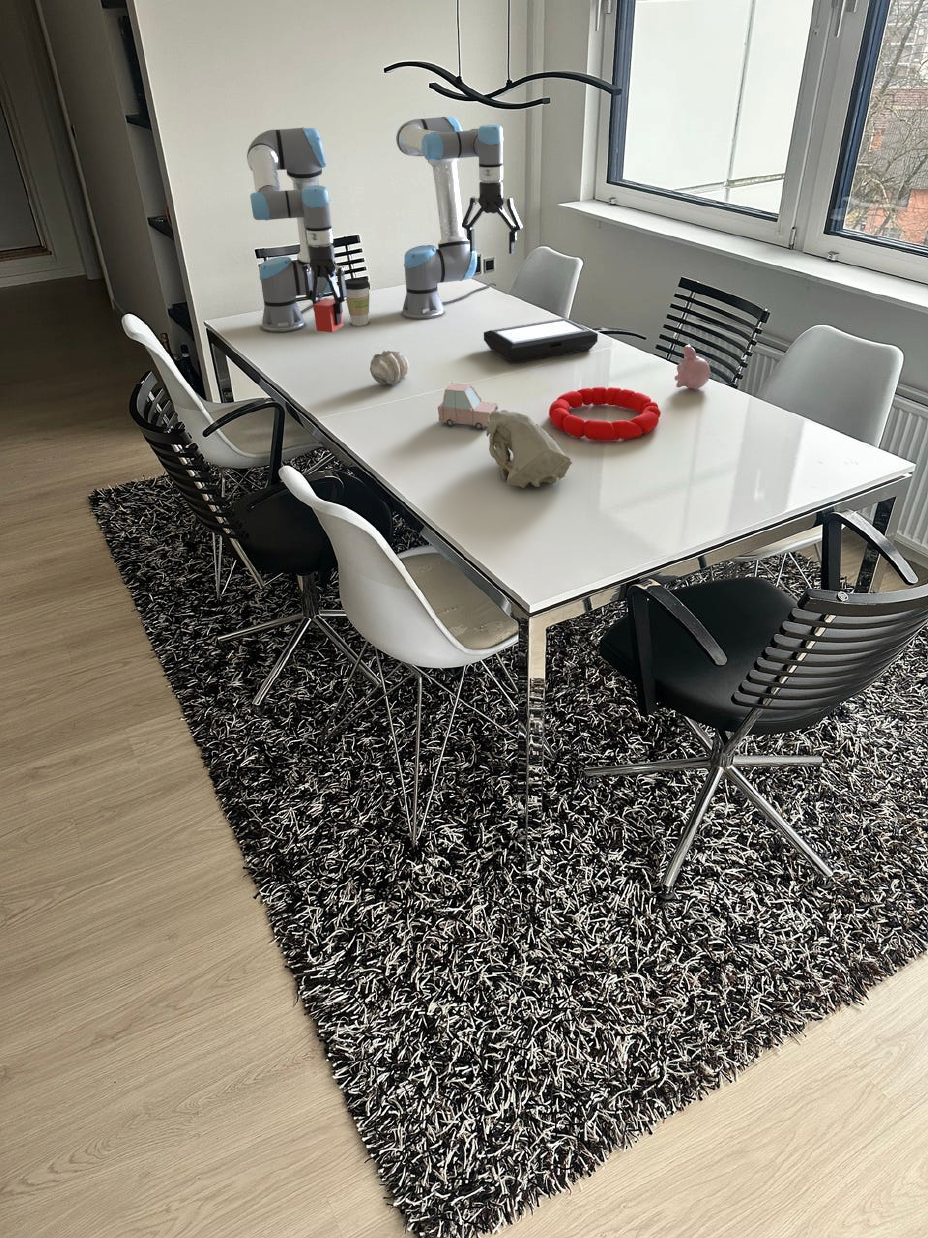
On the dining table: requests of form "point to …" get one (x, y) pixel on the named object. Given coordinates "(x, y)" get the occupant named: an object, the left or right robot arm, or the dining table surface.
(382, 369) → the seashell
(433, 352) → the dining table surface
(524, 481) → the animal skull
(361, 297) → the coffee cup
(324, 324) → the block
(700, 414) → the dining table surface
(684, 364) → the figurine
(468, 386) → the toy car
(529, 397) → the dining table surface
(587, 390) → the decorative ring
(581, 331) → the electronic device
